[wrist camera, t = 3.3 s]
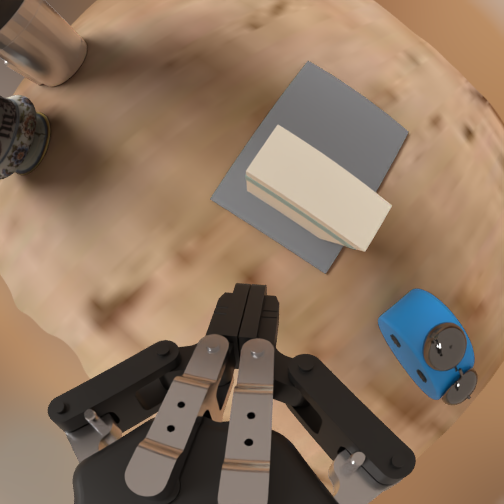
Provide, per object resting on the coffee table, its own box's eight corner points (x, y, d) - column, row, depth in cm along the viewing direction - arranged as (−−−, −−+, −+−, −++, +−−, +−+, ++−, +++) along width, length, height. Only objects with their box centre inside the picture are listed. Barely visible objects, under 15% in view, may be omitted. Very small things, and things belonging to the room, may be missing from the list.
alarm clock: (431, 344, 36) (492, 389, 21) (400, 371, 37) (453, 427, 22) (398, 277, 35) (470, 307, 20) (362, 306, 35) (422, 354, 21)
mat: (324, 273, 35) (325, 273, 34) (210, 199, 34) (210, 199, 33) (406, 132, 33) (408, 131, 32) (307, 62, 32) (308, 60, 31)
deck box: (319, 239, 34) (365, 252, 20) (246, 190, 33) (244, 171, 19) (338, 210, 34) (392, 205, 20) (265, 161, 33) (277, 123, 19)
